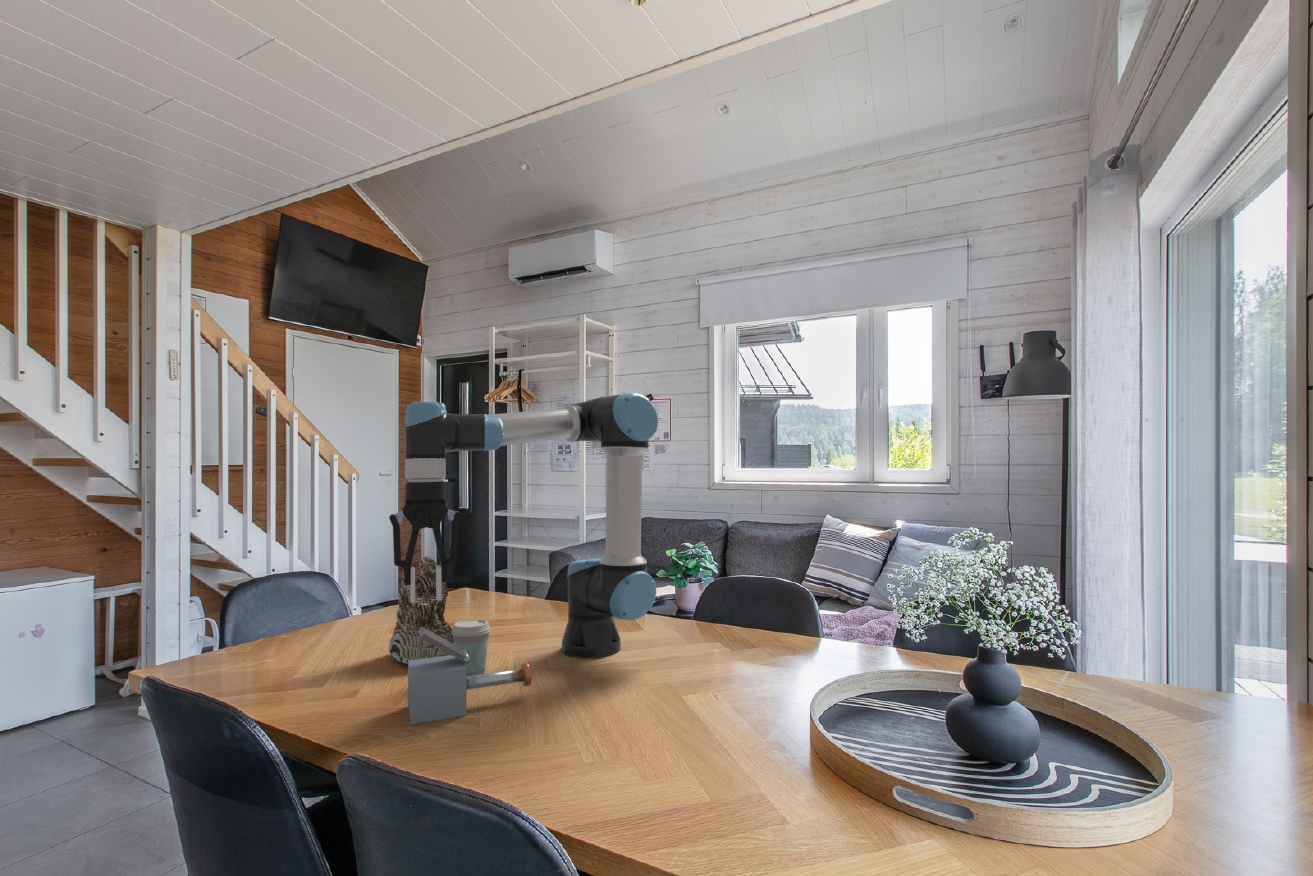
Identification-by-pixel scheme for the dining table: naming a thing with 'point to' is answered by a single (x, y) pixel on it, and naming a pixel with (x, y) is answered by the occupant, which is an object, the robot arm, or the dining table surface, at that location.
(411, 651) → the sculpture
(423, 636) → the keeper plate
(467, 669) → the coffee cup
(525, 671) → the lynch pin
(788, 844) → the dining table surface
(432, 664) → the block
